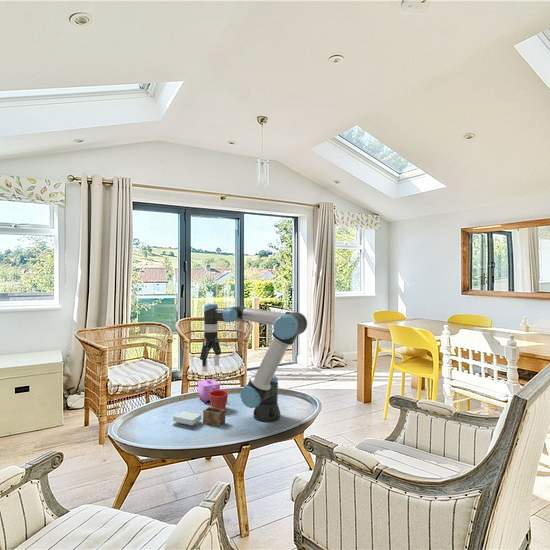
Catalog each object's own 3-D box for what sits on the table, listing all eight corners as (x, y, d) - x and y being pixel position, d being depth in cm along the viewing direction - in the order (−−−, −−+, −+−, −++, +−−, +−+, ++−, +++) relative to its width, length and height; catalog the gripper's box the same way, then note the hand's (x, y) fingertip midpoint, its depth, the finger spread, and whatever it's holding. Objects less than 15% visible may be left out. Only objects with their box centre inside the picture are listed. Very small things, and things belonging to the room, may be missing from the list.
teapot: (196, 396, 239) (197, 377, 239) (212, 394, 243) (212, 375, 243) (206, 406, 221) (206, 385, 221) (222, 404, 226) (222, 383, 226)
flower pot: (224, 413, 211) (224, 396, 211) (206, 411, 213) (206, 395, 213) (230, 407, 221) (230, 390, 221) (212, 405, 223) (213, 389, 223)
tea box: (225, 422, 198) (225, 409, 198) (219, 426, 193) (219, 413, 193) (209, 419, 202) (209, 406, 202) (202, 423, 197) (203, 410, 197)
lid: (201, 422, 197) (201, 414, 197) (192, 428, 190) (192, 420, 190) (182, 418, 201) (182, 411, 201) (173, 424, 194) (173, 416, 194)
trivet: (201, 423, 197) (201, 421, 197) (192, 429, 189) (192, 428, 189) (183, 419, 202) (183, 418, 202) (172, 425, 194) (172, 424, 194)
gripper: (215, 328, 222) (215, 363, 222) (193, 334, 199) (193, 373, 199) (226, 328, 220) (226, 364, 220) (205, 334, 196) (205, 375, 196)
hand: (210, 368), depth 209 cm, fingers open, 13 cm apart
